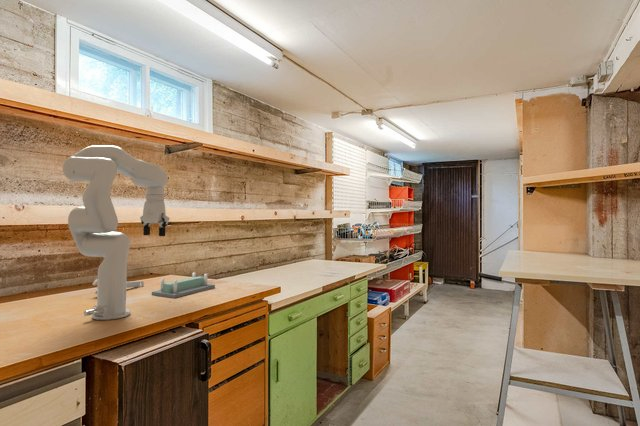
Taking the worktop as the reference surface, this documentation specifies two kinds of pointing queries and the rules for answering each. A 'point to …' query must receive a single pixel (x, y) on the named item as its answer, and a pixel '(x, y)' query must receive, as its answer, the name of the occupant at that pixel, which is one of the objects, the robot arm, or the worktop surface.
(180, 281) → the bar
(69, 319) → the worktop surface
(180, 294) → the stand
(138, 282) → the wrench
